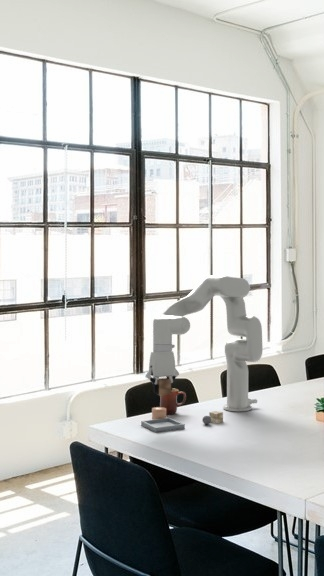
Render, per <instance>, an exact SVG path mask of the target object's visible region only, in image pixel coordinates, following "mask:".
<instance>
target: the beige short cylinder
mask: <svg viewBox="0 0 324 576" xmlns="http://www.w3.org/2000/svg"><path fill="white" fill-rule="evenodd" d="M162 418H167V415H166V408H164V407H160V406H156V407H155V406H154V407H151V420H154V419H162Z"/></svg>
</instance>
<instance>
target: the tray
mask: <svg viewBox="0 0 324 576" xmlns="http://www.w3.org/2000/svg"><path fill="white" fill-rule="evenodd" d="M140 421H141V422H140V423H141V426H142V427H144V428H146V429H148V430H149V431H151V432H153V433H162V432H171V431H176V430H184V429H185V423H183V422H180V421H178V420H176V419H174V418H171V417H166V418H162V419H154V420H152V419H146V420H140Z"/></svg>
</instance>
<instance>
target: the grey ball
mask: <svg viewBox="0 0 324 576" xmlns="http://www.w3.org/2000/svg"><path fill="white" fill-rule="evenodd" d="M202 423H203V424H205V426H206V425H210V424H211V423H212V422H211V418H210V417H209V415H204V416H203V417H202Z"/></svg>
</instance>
